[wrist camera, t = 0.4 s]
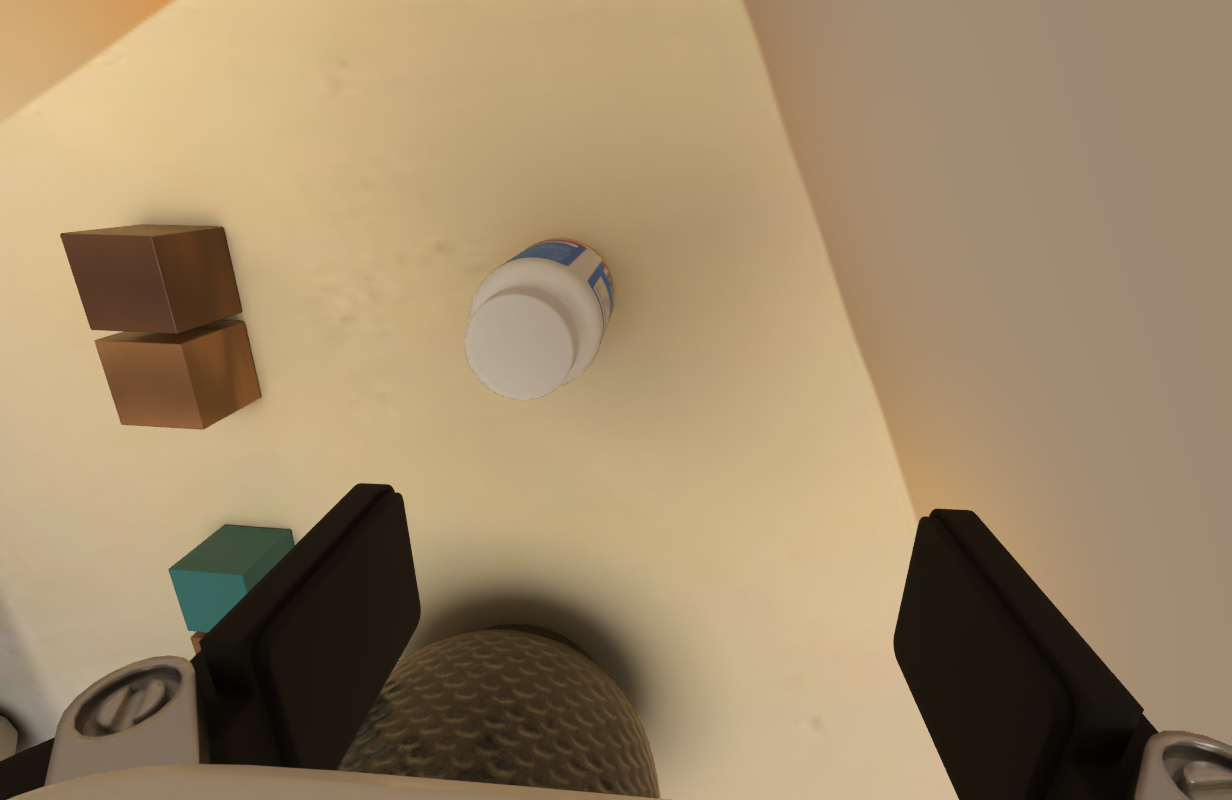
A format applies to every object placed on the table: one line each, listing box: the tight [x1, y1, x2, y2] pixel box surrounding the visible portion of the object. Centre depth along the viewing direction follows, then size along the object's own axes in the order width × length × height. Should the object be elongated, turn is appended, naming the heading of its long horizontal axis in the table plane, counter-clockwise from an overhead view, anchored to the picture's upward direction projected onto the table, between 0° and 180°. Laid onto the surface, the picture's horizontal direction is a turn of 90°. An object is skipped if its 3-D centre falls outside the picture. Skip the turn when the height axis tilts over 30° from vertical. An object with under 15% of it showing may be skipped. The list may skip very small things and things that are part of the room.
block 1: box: [60, 224, 242, 334], centre depth 29 cm, size 4×4×4 cm
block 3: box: [169, 525, 294, 632], centre depth 36 cm, size 4×4×4 cm
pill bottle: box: [465, 239, 614, 400], centre depth 25 cm, size 6×5×10 cm
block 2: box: [95, 320, 261, 429], centre depth 31 cm, size 4×4×4 cm
